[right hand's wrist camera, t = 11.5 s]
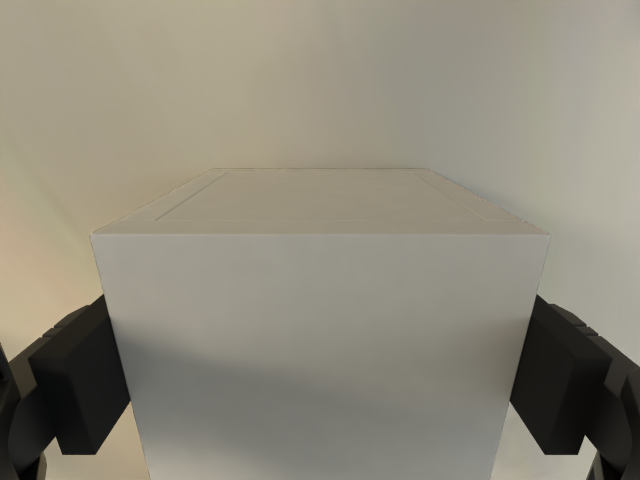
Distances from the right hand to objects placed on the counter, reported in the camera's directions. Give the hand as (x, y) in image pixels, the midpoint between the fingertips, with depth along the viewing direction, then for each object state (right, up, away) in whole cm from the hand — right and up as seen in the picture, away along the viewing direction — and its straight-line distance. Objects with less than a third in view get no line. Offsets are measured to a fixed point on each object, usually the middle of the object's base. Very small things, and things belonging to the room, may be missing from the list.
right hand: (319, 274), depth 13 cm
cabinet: (0, -5, +7) cm, 9 cm away
